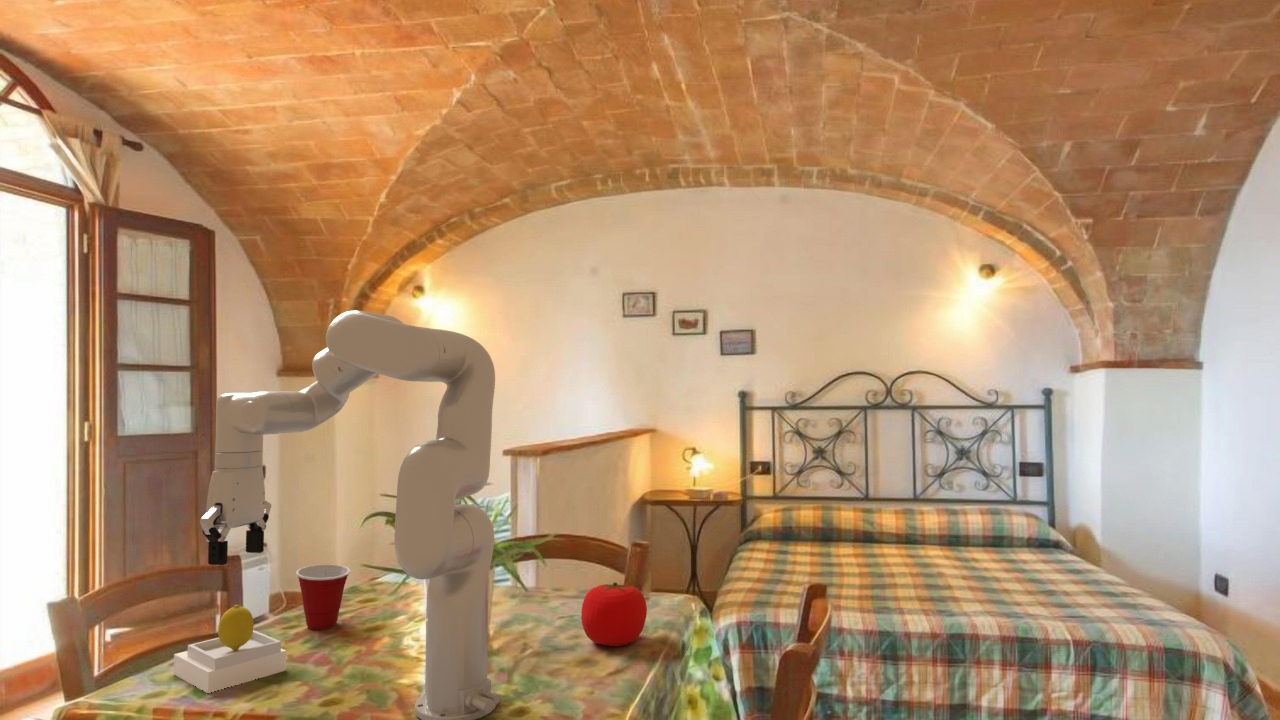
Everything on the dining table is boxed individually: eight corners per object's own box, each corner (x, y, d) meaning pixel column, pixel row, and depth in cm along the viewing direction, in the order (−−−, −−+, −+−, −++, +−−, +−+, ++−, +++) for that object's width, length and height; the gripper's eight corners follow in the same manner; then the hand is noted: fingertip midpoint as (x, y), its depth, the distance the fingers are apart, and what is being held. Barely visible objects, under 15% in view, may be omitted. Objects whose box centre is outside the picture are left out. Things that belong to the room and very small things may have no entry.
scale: (285, 670, 132) (286, 639, 132) (207, 693, 121) (208, 660, 122) (249, 653, 140) (249, 624, 140) (173, 674, 130) (174, 643, 130)
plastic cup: (319, 637, 150) (320, 577, 150) (283, 629, 155) (284, 572, 155) (360, 622, 160) (361, 566, 160) (325, 615, 164) (326, 561, 165)
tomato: (571, 651, 142) (572, 589, 142) (593, 629, 155) (593, 573, 155) (636, 656, 138) (636, 594, 139) (652, 633, 152) (652, 576, 152)
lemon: (237, 657, 127) (238, 610, 127) (209, 654, 128) (211, 608, 128) (260, 646, 132) (261, 601, 133) (233, 644, 133) (234, 599, 134)
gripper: (251, 457, 141) (249, 547, 140) (184, 466, 124) (181, 569, 123) (287, 457, 140) (285, 548, 139) (225, 466, 123) (222, 570, 122)
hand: (236, 558), depth 131 cm, fingers open, 9 cm apart
